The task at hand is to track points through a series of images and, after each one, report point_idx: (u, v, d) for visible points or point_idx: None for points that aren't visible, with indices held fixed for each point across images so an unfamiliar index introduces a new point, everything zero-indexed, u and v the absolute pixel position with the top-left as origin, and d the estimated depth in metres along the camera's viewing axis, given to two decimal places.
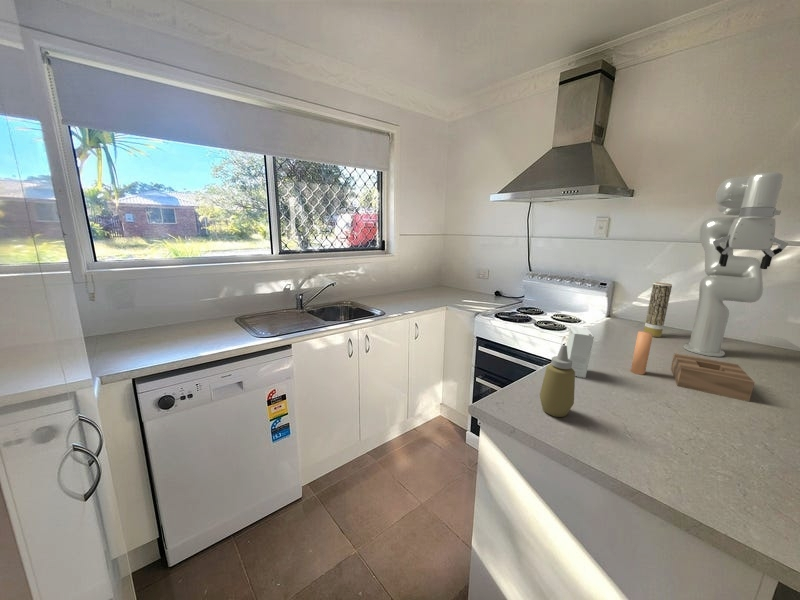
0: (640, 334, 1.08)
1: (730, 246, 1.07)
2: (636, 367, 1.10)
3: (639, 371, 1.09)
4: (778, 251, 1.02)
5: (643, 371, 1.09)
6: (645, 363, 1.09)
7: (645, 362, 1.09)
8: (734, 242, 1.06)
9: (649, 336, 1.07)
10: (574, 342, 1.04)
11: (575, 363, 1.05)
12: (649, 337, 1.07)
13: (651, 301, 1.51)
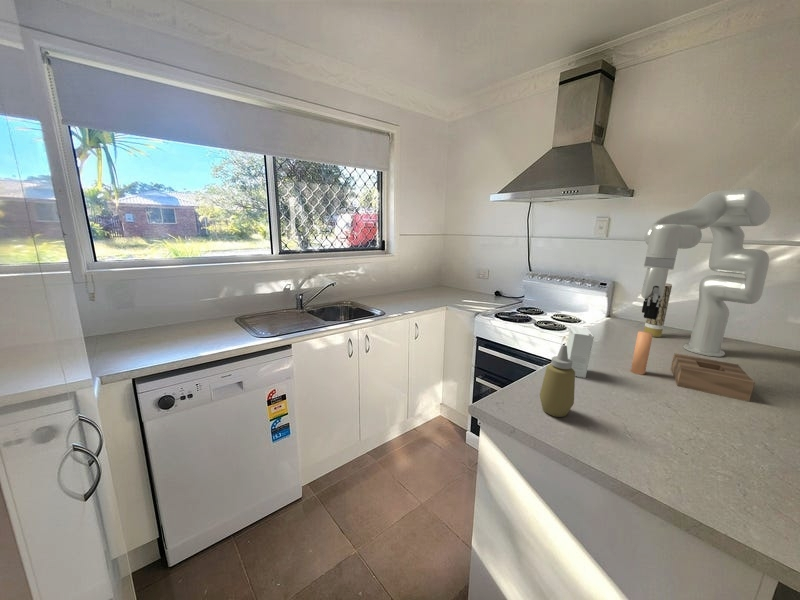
0: (640, 334, 1.08)
1: (660, 298, 1.01)
2: (636, 367, 1.10)
3: (639, 371, 1.09)
4: None
5: (643, 371, 1.09)
6: (645, 363, 1.09)
7: (645, 362, 1.09)
8: None
9: (649, 336, 1.07)
10: (574, 342, 1.04)
11: (575, 363, 1.05)
12: (649, 337, 1.07)
13: None
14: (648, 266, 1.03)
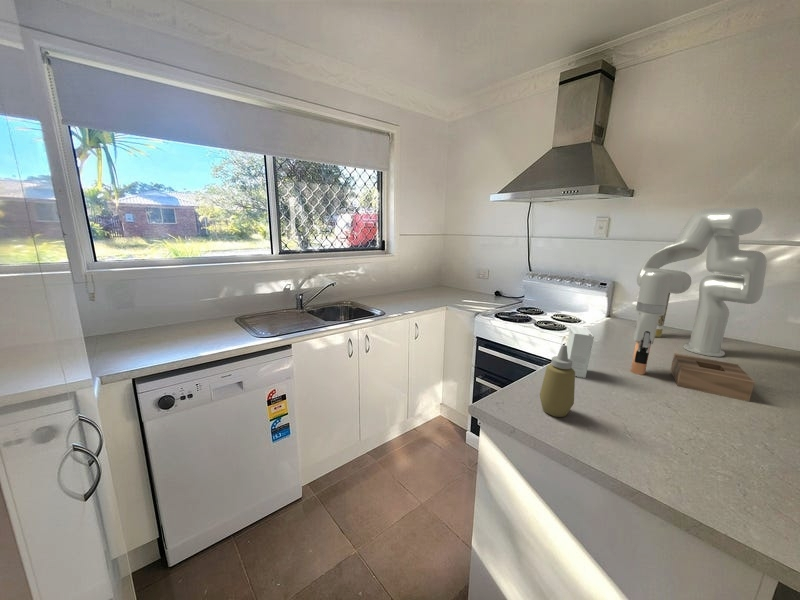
0: None
1: (651, 343, 1.04)
2: (636, 367, 1.10)
3: (639, 371, 1.09)
4: None
5: (643, 371, 1.09)
6: None
7: None
8: None
9: None
10: (574, 342, 1.04)
11: (575, 363, 1.05)
12: None
13: None
14: (639, 311, 1.06)
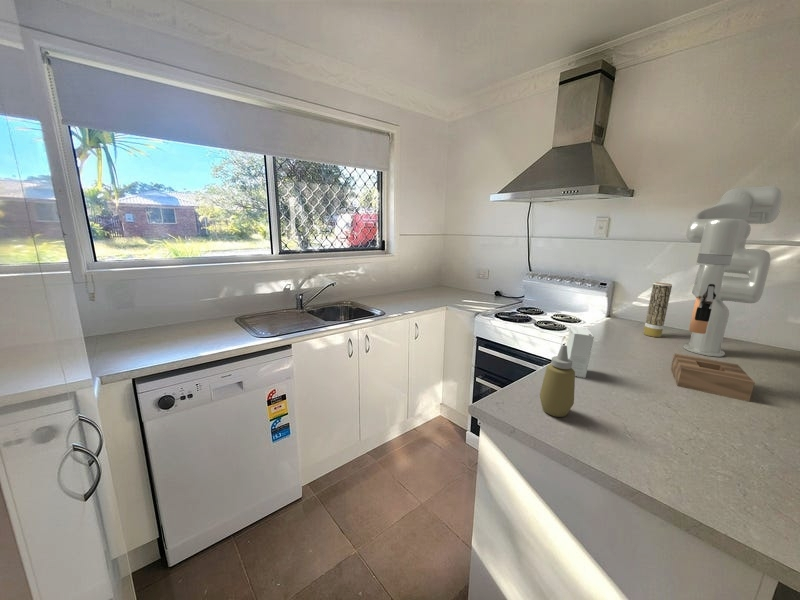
0: None
1: (716, 297, 0.96)
2: (696, 326, 1.01)
3: (699, 330, 1.01)
4: None
5: (704, 329, 1.01)
6: None
7: None
8: (718, 293, 0.96)
9: None
10: (574, 342, 1.04)
11: (575, 363, 1.05)
12: None
13: (651, 301, 1.51)
14: (702, 263, 0.98)
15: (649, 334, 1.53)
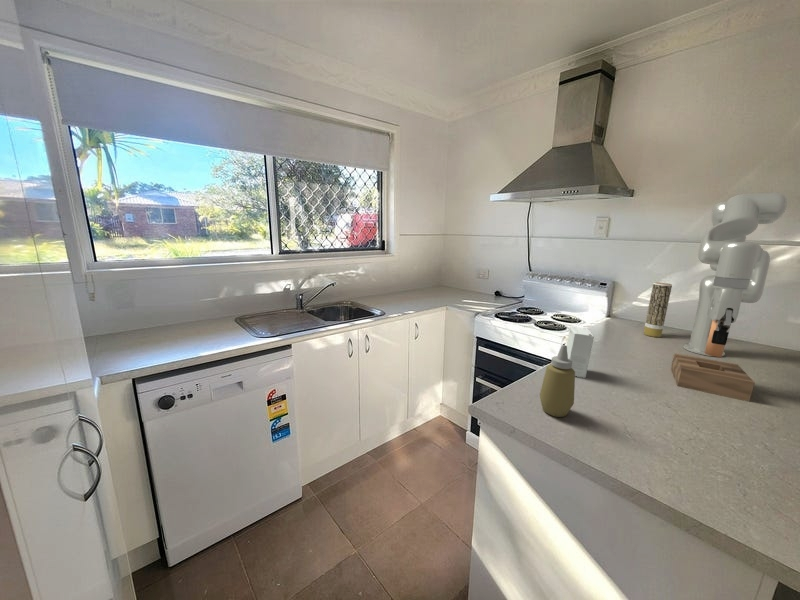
0: None
1: (734, 321, 0.95)
2: (713, 349, 1.00)
3: (716, 353, 1.00)
4: None
5: (721, 353, 1.00)
6: None
7: None
8: (736, 316, 0.95)
9: None
10: (574, 342, 1.04)
11: (575, 363, 1.05)
12: None
13: (651, 301, 1.51)
14: (719, 286, 0.97)
15: (649, 334, 1.53)
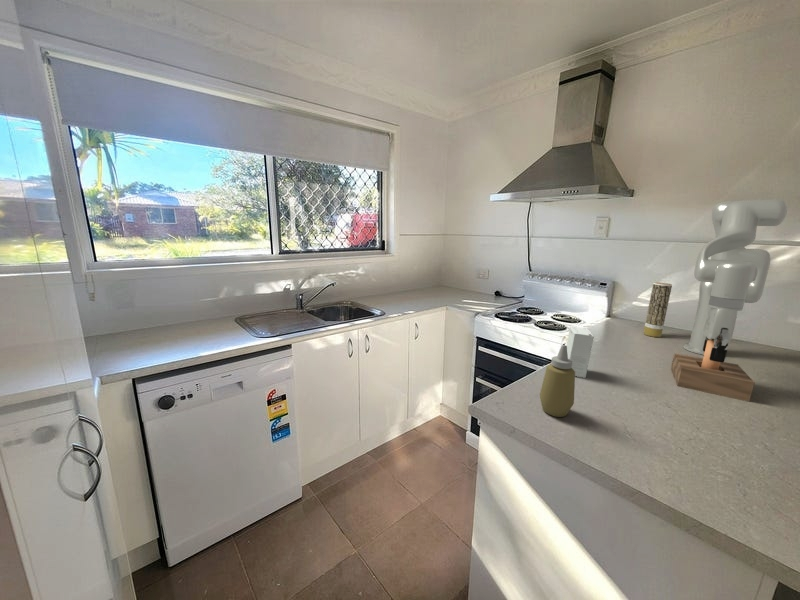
0: (711, 343, 1.01)
1: (729, 341, 0.96)
2: None
3: None
4: None
5: None
6: None
7: None
8: (731, 336, 0.96)
9: None
10: (574, 342, 1.04)
11: (575, 363, 1.05)
12: None
13: (651, 301, 1.51)
14: (714, 306, 0.98)
15: (649, 334, 1.53)
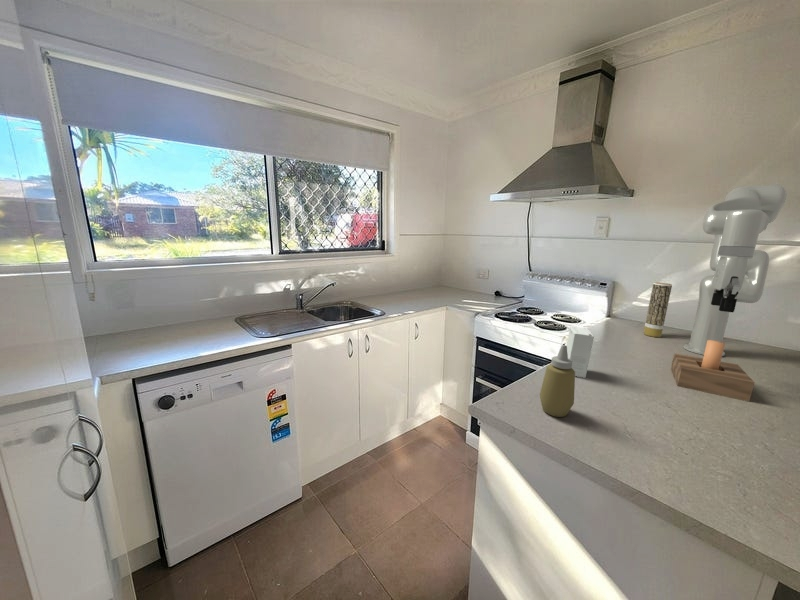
0: (711, 343, 1.01)
1: (739, 290, 0.94)
2: None
3: None
4: None
5: None
6: None
7: None
8: (741, 285, 0.94)
9: (721, 345, 1.00)
10: (574, 342, 1.04)
11: (575, 363, 1.05)
12: (721, 347, 1.00)
13: (651, 301, 1.51)
14: (724, 255, 0.96)
15: (649, 334, 1.53)
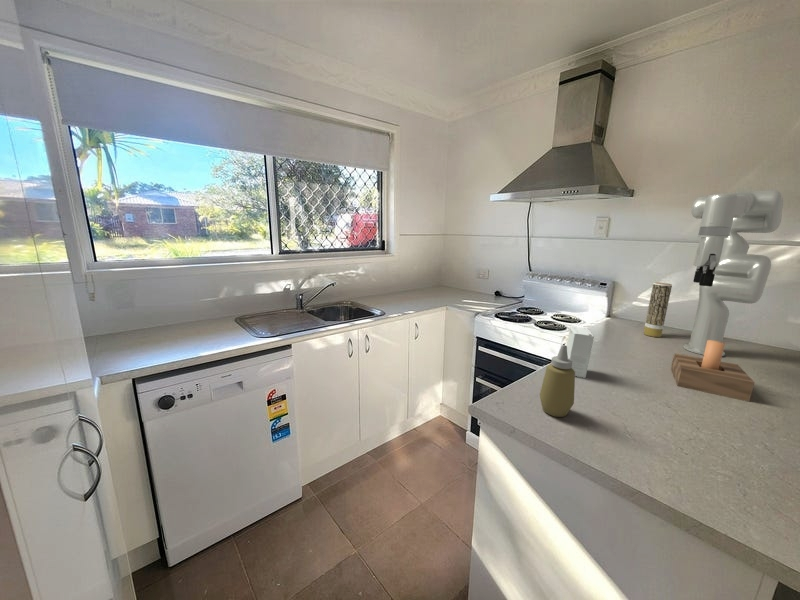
0: (711, 343, 1.01)
1: (717, 266, 1.05)
2: None
3: None
4: None
5: None
6: None
7: None
8: (719, 261, 1.05)
9: (721, 345, 1.00)
10: (574, 342, 1.04)
11: (575, 363, 1.05)
12: (721, 347, 1.00)
13: (651, 301, 1.51)
14: (703, 235, 1.07)
15: (649, 334, 1.53)
